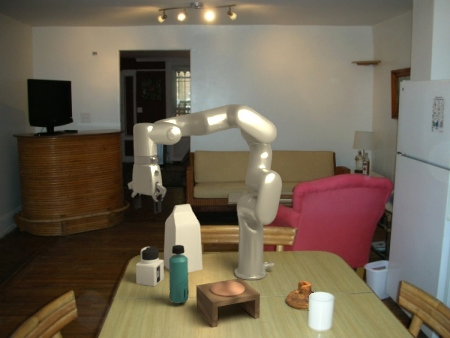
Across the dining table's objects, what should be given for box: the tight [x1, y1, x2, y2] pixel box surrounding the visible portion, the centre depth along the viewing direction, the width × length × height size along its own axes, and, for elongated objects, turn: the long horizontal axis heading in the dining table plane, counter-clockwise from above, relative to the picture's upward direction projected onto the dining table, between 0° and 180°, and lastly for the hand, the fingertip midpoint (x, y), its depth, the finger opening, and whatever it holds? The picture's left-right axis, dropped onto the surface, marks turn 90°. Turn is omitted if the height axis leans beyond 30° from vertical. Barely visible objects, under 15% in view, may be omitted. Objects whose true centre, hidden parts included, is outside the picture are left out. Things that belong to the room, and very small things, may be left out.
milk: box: [163, 203, 204, 273], centre depth 191 cm, size 12×12×26 cm
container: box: [135, 246, 165, 287], centre depth 178 cm, size 8×8×13 cm
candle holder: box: [285, 280, 315, 310], centre depth 161 cm, size 12×12×7 cm
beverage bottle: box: [168, 245, 190, 304], centre depth 159 cm, size 6×7×20 cm
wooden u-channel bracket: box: [195, 277, 261, 328], centre depth 153 cm, size 16×14×9 cm
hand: (147, 210), depth 162 cm, fingers open, 9 cm apart
